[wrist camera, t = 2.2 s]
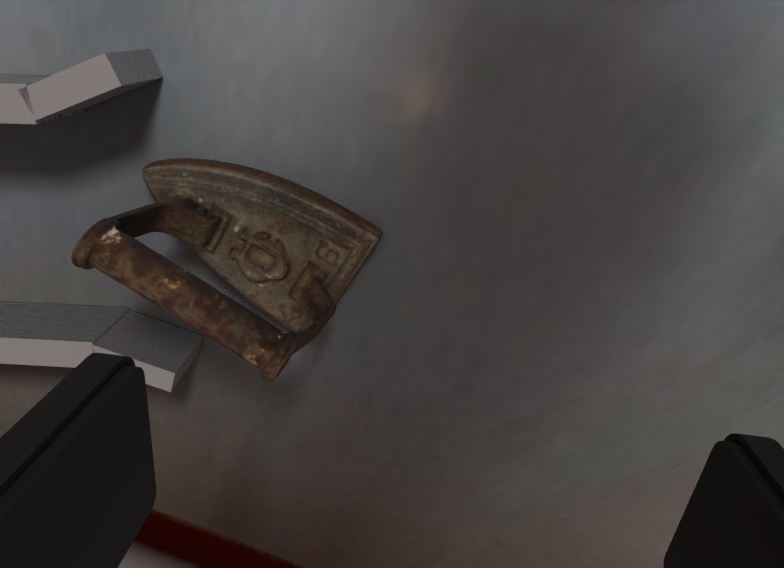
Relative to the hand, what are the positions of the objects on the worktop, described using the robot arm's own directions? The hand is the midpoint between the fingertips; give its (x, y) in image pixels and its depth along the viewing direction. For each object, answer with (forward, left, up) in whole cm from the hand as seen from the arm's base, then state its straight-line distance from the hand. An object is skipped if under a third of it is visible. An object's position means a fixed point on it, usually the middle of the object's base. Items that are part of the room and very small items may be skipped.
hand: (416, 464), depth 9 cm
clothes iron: (+9, +2, -18) cm, 20 cm away
